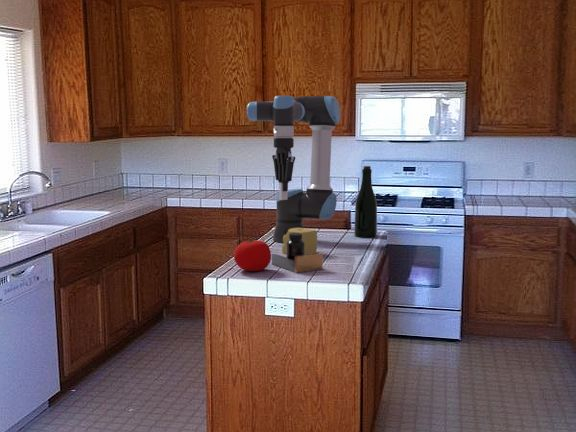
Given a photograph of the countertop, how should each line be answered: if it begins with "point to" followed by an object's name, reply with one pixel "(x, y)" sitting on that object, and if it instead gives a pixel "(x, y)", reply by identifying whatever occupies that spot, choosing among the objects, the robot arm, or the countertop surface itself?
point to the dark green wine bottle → (366, 207)
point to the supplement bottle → (295, 246)
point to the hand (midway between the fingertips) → (283, 199)
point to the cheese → (303, 239)
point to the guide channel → (299, 262)
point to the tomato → (252, 255)
